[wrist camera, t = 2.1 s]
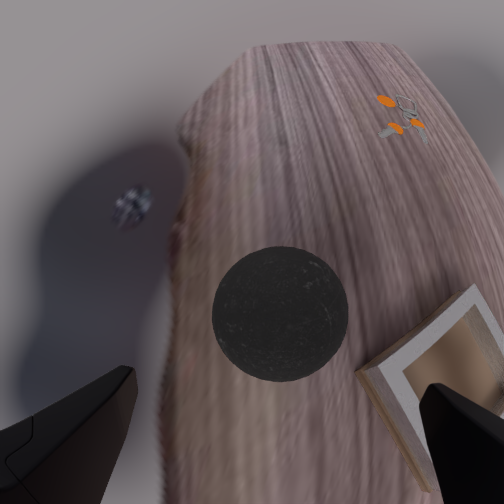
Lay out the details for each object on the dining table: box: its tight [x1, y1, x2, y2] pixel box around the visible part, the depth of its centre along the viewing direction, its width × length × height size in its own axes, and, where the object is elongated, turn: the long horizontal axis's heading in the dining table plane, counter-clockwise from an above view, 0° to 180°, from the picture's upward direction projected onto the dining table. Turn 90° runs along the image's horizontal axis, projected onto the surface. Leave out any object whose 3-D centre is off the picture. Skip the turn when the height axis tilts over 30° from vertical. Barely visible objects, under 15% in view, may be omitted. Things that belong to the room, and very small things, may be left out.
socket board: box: [355, 290, 502, 493], centre depth 17 cm, size 11×11×1 cm
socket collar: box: [364, 283, 504, 491], centre depth 16 cm, size 11×11×2 cm
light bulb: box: [212, 246, 348, 382], centre depth 15 cm, size 6×6×10 cm
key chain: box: [377, 94, 428, 144], centre depth 33 cm, size 13×7×1 cm, turn 162°
